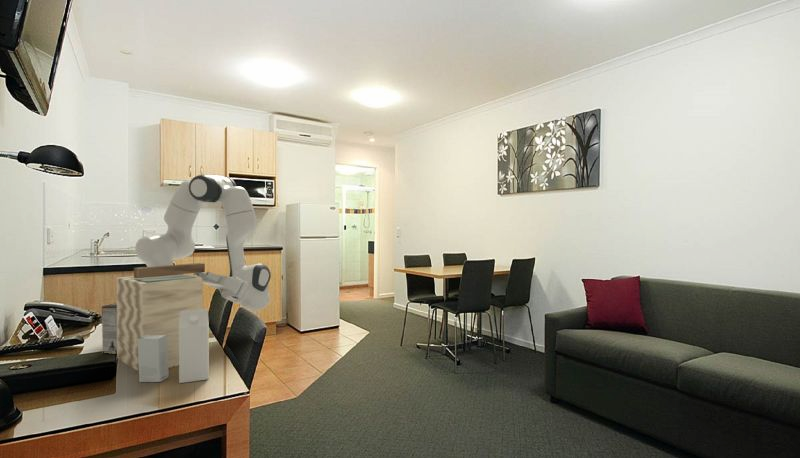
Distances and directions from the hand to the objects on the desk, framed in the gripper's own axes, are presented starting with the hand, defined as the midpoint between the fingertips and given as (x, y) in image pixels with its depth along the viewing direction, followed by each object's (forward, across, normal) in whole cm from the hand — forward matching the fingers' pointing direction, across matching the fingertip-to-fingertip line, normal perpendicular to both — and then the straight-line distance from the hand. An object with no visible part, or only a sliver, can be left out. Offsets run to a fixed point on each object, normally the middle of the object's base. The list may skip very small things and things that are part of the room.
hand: (200, 272), depth 149 cm
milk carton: (+2, +31, +31) cm, 44 cm away
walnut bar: (+9, 0, +5) cm, 10 cm away
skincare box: (+8, +24, +35) cm, 43 cm away
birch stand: (+1, +6, +30) cm, 31 cm away
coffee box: (+5, -14, +33) cm, 36 cm away
